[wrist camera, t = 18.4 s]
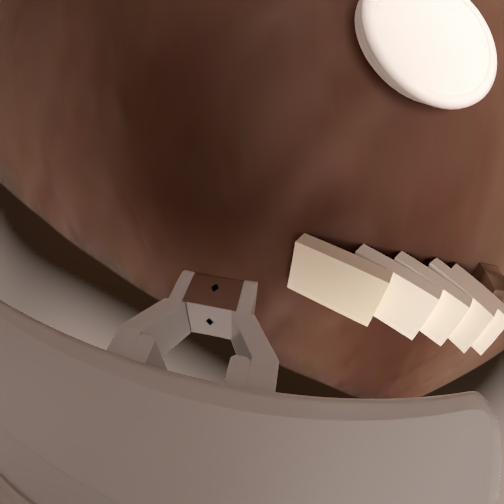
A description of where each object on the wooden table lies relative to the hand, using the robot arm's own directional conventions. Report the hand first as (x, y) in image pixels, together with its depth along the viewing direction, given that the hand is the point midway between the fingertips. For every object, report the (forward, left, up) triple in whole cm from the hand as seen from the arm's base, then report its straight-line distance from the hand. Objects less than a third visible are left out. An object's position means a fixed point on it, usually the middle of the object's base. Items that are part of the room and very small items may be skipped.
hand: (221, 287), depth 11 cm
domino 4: (+16, -7, -11) cm, 21 cm away
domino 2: (+8, -7, -11) cm, 16 cm away
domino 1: (+3, -7, -11) cm, 14 cm away
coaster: (+10, +13, -12) cm, 21 cm away
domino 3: (+12, -7, -11) cm, 18 cm away
